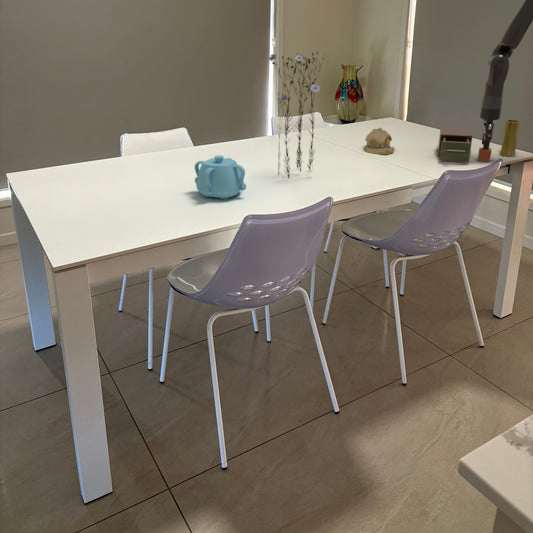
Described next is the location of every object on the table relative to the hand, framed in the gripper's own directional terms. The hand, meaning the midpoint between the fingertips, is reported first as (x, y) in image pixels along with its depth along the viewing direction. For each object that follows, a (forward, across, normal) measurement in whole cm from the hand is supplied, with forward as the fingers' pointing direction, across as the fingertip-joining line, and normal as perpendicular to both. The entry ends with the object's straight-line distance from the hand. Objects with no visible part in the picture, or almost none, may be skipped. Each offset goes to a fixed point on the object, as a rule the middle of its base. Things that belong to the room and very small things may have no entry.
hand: (485, 146), depth 240 cm
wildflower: (+6, -40, +70) cm, 81 cm away
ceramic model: (+6, +5, +43) cm, 44 cm away
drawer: (+5, -5, +12) cm, 13 cm away
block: (+5, 0, 0) cm, 5 cm away
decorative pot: (+7, -68, +91) cm, 114 cm away
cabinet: (+5, +7, +12) cm, 15 cm away
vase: (+5, +10, -10) cm, 16 cm away
